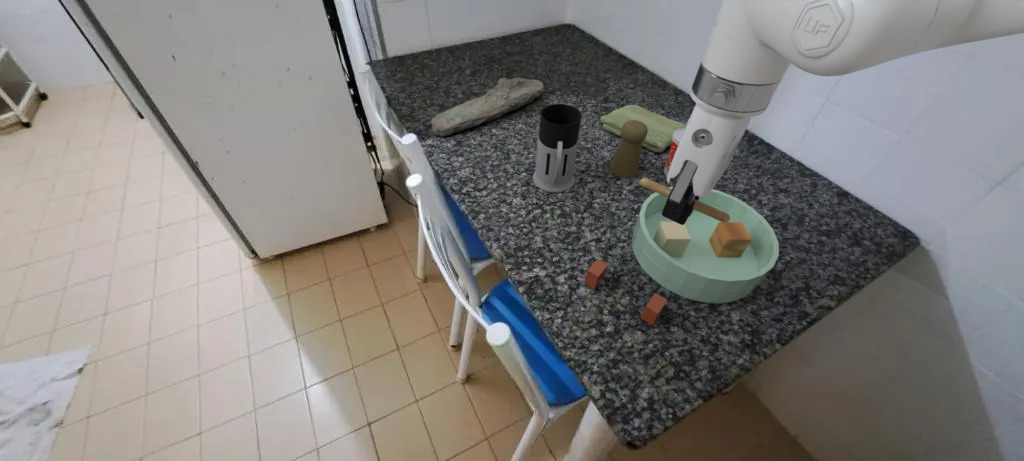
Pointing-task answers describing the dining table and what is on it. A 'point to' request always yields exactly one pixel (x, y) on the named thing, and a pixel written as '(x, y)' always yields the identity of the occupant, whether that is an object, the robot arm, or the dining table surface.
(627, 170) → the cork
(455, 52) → the dining table surface
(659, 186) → the tan wooden rod
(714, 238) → the amber block
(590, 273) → the red blocks
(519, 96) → the elongated grey stone
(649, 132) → the washcloth
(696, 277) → the bowl
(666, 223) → the cream block
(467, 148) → the dining table surface
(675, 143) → the beverage cup
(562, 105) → the glass holder
